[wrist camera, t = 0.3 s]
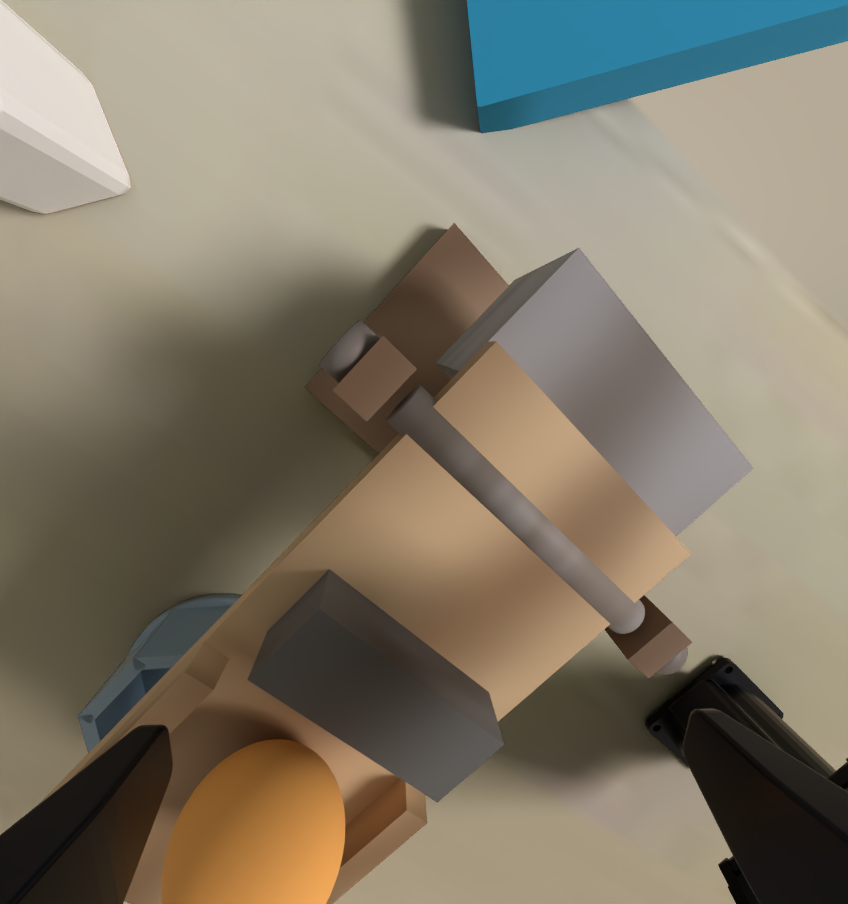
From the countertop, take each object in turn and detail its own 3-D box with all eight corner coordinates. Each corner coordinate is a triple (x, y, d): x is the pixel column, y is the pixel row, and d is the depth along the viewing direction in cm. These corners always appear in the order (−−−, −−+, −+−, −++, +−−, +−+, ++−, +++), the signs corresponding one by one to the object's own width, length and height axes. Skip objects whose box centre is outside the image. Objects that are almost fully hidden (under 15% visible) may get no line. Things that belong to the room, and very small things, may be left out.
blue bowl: (361, 664, 22) (356, 728, 19) (246, 774, 23) (220, 853, 20) (211, 557, 20) (172, 605, 16) (91, 685, 21) (29, 756, 17)
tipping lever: (652, 440, 16) (855, 513, 9) (287, 778, 19) (229, 1033, 12) (505, 269, 14) (623, 194, 7) (117, 677, 17) (-76, 916, 10)
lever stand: (643, 450, 20) (863, 540, 11) (514, 569, 22) (613, 745, 12) (450, 229, 17) (529, 88, 8) (308, 384, 18) (225, 428, 9)
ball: (380, 750, 12) (377, 943, 8) (290, 830, 12) (247, 1049, 9) (270, 678, 11) (208, 859, 7) (178, 769, 11) (72, 984, 8)
